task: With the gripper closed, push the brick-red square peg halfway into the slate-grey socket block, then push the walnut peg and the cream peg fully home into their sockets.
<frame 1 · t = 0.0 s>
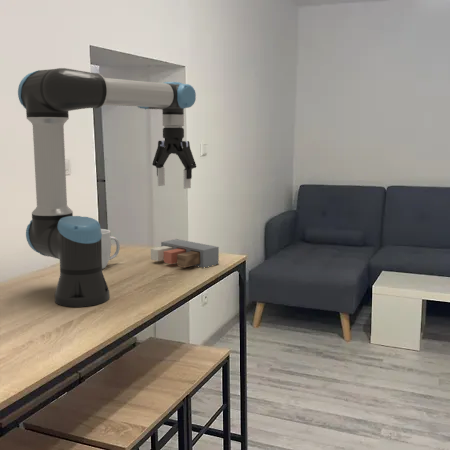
hand: (173, 187, 200), 28 cm above the table, tool pointing down, fingers open, 13 cm apart
mug: (98, 267, 197), on the table
socket block: (189, 261, 206), on the table
cream peg: (163, 252, 206), point 3 cm above the table, slide at 0.0 cm
brick peg: (176, 255, 201), point 3 cm above the table, slide at 0.0 cm
walnut peg: (190, 258, 196), point 3 cm above the table, slide at 0.0 cm
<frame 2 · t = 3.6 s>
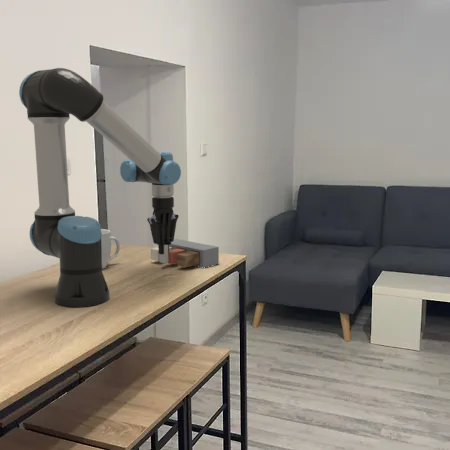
hand: (164, 262, 197), 2 cm above the table, tool pointing down, fingers closed
brick peg: (176, 255, 201), point 3 cm above the table, slide at 0.0 cm, touching gripper
everything else where it was.
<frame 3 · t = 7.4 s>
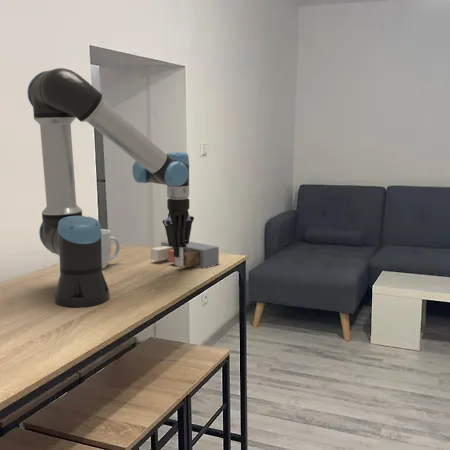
hand: (179, 265, 192), 2 cm above the table, tool pointing down, fingers closed
brick peg: (180, 254, 203), point 3 cm above the table, slide at 2.1 cm
walnut peg: (191, 258, 197), point 3 cm above the table, slide at 0.6 cm, touching gripper
everything else where it was.
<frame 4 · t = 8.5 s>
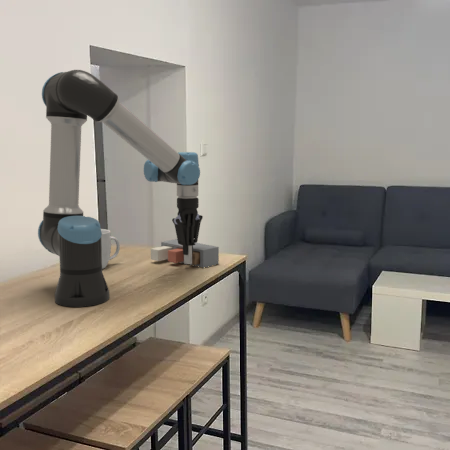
hand: (188, 263, 196), 2 cm above the table, tool pointing down, fingers closed
walnut peg: (199, 256, 200), point 3 cm above the table, slide at 4.8 cm, touching gripper
everything else where it was.
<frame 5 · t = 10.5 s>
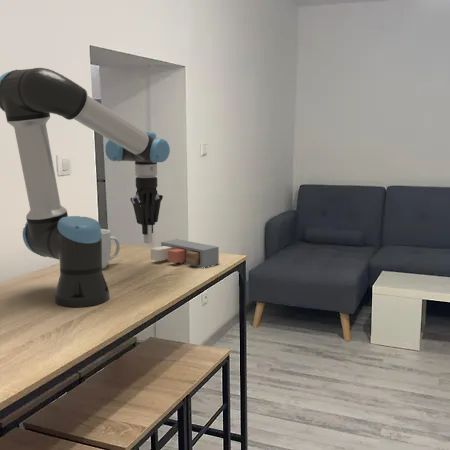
hand: (147, 242, 197), 9 cm above the table, tool pointing down, fingers closed
walnut peg: (199, 256, 200), point 3 cm above the table, slide at 4.6 cm
everything else where it was.
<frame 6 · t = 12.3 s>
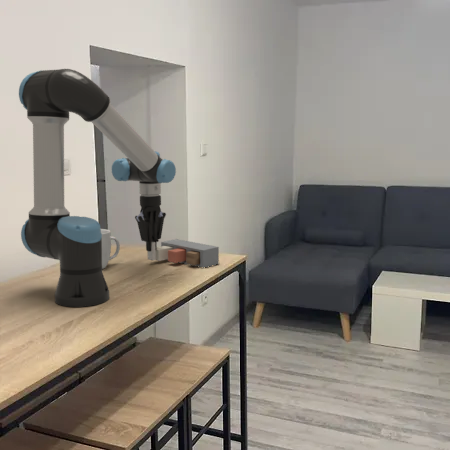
hand: (151, 259, 201), 2 cm above the table, tool pointing down, fingers closed
cream peg: (164, 252, 206), point 3 cm above the table, slide at 0.4 cm, touching gripper
everything else where it was.
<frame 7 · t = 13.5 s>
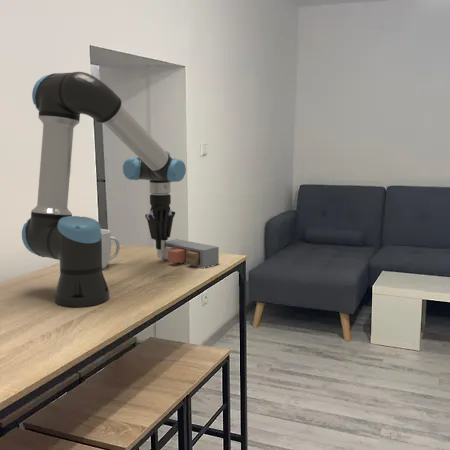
hand: (160, 257, 205), 2 cm above the table, tool pointing down, fingers closed
cream peg: (173, 250, 209), point 3 cm above the table, slide at 4.8 cm, touching gripper
everything else where it was.
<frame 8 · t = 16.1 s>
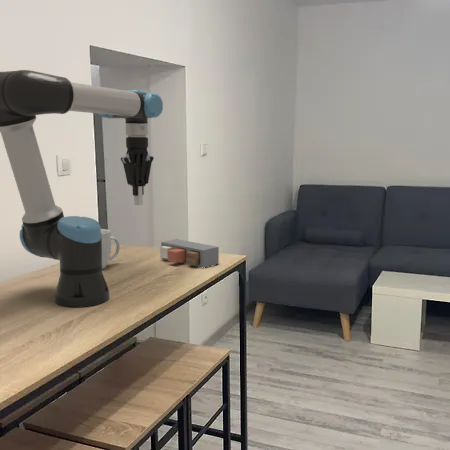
hand: (138, 204, 194), 22 cm above the table, tool pointing down, fingers closed
cream peg: (172, 250, 209), point 3 cm above the table, slide at 4.6 cm
everything else where it was.
at the end: brick peg slide at 2.1 cm; walnut peg slide at 4.6 cm; cream peg slide at 4.6 cm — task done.
